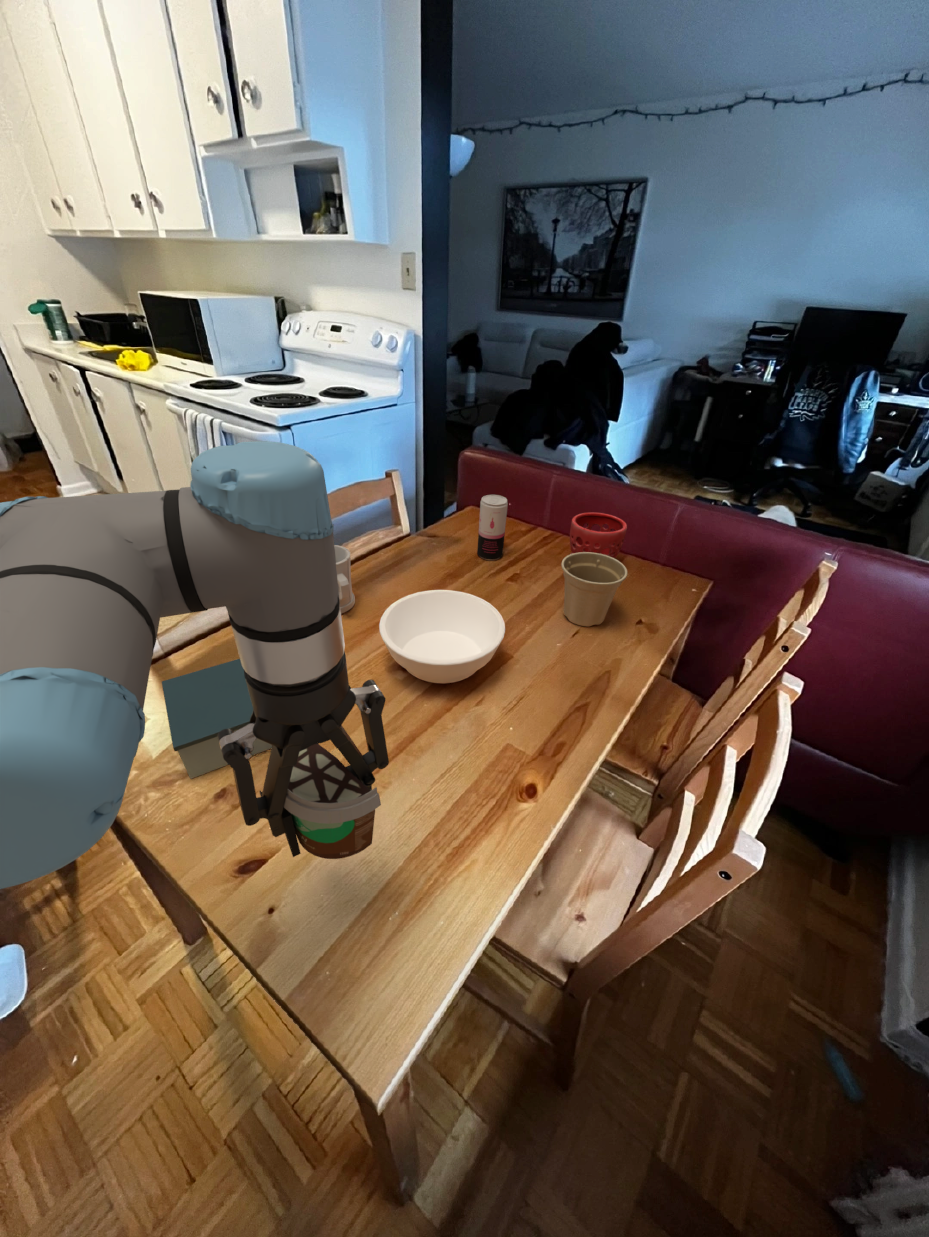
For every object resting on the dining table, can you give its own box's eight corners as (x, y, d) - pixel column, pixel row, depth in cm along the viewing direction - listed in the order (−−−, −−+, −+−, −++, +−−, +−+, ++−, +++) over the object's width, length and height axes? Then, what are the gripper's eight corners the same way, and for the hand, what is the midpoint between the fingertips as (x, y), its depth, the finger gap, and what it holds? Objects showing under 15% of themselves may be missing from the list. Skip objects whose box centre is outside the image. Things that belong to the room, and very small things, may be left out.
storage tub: (188, 781, 70) (173, 747, 66) (175, 714, 80) (161, 681, 75) (305, 736, 77) (299, 703, 73) (280, 680, 87) (273, 648, 83)
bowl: (409, 717, 81) (408, 679, 76) (365, 640, 97) (362, 604, 92) (524, 678, 90) (529, 642, 85) (466, 613, 106) (468, 579, 101)
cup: (369, 599, 109) (365, 550, 102) (349, 622, 102) (343, 571, 95) (326, 589, 111) (320, 541, 104) (304, 611, 104) (295, 561, 97)
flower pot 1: (623, 562, 128) (634, 519, 121) (606, 584, 119) (617, 538, 112) (575, 548, 133) (584, 505, 126) (556, 567, 124) (563, 523, 117)
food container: (258, 817, 52) (242, 753, 47) (308, 781, 56) (299, 719, 51) (331, 899, 46) (323, 837, 40) (381, 852, 50) (380, 790, 45)
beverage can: (505, 552, 130) (511, 497, 121) (497, 563, 125) (503, 507, 116) (482, 547, 131) (486, 492, 123) (473, 557, 126) (476, 501, 118)
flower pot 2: (549, 597, 113) (558, 549, 106) (607, 600, 113) (619, 553, 106) (556, 631, 102) (566, 581, 95) (620, 635, 102) (634, 585, 95)
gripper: (389, 601, 45) (395, 765, 58) (148, 666, 36) (220, 841, 50) (428, 647, 40) (425, 816, 53) (158, 735, 31) (235, 910, 44)
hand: (326, 828), depth 51 cm, fingers closed on food container, 6 cm apart
